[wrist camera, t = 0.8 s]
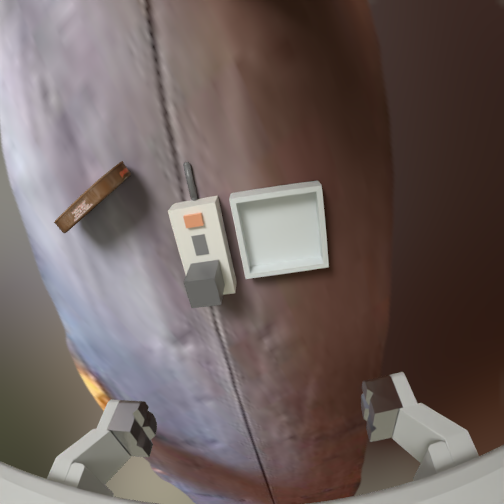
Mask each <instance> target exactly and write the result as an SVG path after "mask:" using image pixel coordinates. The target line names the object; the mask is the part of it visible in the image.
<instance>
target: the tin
mask: <svg viewBox="0 0 504 504" xmlns="http://www.w3.org/2000/svg"><path fill="white" fill-rule="evenodd" d="M130 175H131V173H130V172H129V170H128V169H127V168H126V166H125V165H124V163H123V161H122V162H120V163H119V164H118V165H116V166H115V167H113V168H112V169H111V170H110V171H108V172H107V173H106V174H105V175H104V176H102V177H101V178H100V179H99V180H98V181H97V182H96V183H94V184H93V185H92V186H91V187H90V188H89V189H88V190H87V191H85V192H84V193H83V194H82V195H81V196H80V197H79V198H78V199H77V200H76V201H75V202H74V203H73V204H72V205H71V206H70V207H69V208H68V209H67V210H66V211H65V212H63V213H62V214H61V215H60V216H59V217H58V219H57V220H56V221H55V222H54V223H55V224H56V225H57V226H58V227H59V228H60V230H61V231H62V232H63V233H66V232H67V231H69V230H70V229H71V228H72V227H73V226H74V225H75V224H76V223H78V222H79V221H80V220H81V219H82V218H83V217H84V216H85V215H87V214H88V213H89V212H90V211H91V210H92V209H93V208H94V207H95V206H97V205H98V204H99V203H100V202H101V201H102V200H103V199H104V198H106V197H107V196H108V195H109V194H110V193H111V192H112V191H114V190H115V189H116V188H117V187H118V186H119V185H120V184H121V183H122V182H123V181H125V180H126V179H127V178H128V177H129V176H130Z"/></svg>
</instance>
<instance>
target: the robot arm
mask: <svg viewBox="0 0 504 504" xmlns="http://www.w3.org/2000/svg"><path fill="white" fill-rule="evenodd" d="M362 390H363V394H362V395H361V408H362V413H363V417H364V419H365V420H366V421H367V427H366V429H367V433H368V436H369V440H370V442H372V441H378V440H382V439H387V438H391V437H392V439H394V440H395V441H396V442H397V443H398V444H399V445H400V446H402V447H403V448H404V449H405V450H406V451H407V452H408V453H410V454H411V455H412V456H413V457H414V458H416V459H417V460H418V461H419V462H420V463H421V464H420V466H419V468H418V470H417V472H416V474H415V476H414V481H413V482H409V483H406V484H403V485H399V486H395V487H392V488H388V489H384V490H380V491H376V492H372V493H367V494H363V495H358V496H353V497H347V498H342V499H336V500H330V501H323V502H316V503H308V504H504V445H502V446H501V447H499V448H496V449H495V450H492V451H490V452H488V453H486V454H484V455H482V456H479V455H478V453H477V451H476V449H475V446H474V444H473V442H472V440H471V438H470V435H469V433H468V431H467V430H465V429H464V428H462V427H460V426H459V425H457V424H455V423H454V422H452V421H450V420H448V419H447V418H445V417H444V416H442V415H440V414H439V413H437V412H435V411H434V410H432V409H431V408H429V407H427V406H425V405H424V404H422V403H419V404H418V403H417V401H416V399H415V396H414V394H413V392H412V390H411V387H410V385H409V383H408V381H407V378H406V376H405V374H404V373H403V372H400V373H396V374H392V375H386V376H382V377H378V378H374V379H369V380H365V381H363V383H362ZM147 410H148V405H147V404H146V402H143V401H126V400H110V401H109V402H108V403H107V405H106V408H105V410H104V412H103V415H102V417H101V419H100V422H99V424H98V426H97V429H93V430H91V431H90V432H89V433H87V434H86V435H85V436H83V437H82V438H81V439H80V440H78V441H77V442H76V443H74V444H73V445H72V446H71V447H69V448H68V449H66V450H65V451H64V452H62V453H61V454H60V455H58V456H57V457H56V459H55V462H54V464H53V466H52V468H51V470H50V473H49V475H48V477H47V479H45V478H42V477H39V476H36V475H33V474H30V473H28V472H25V471H22V470H20V469H17V468H15V467H12V466H10V465H7V464H5V463H3V462H0V504H157V503H149V502H141V501H136V500H130V499H123V498H118V497H113V492H112V491H111V490H110V489H109V488H108V487H107V486H106V485H105V484H106V483H107V482H108V481H109V480H110V479H111V478H112V477H113V475H115V474H116V473H117V471H118V470H119V469H120V468H121V467H122V466H123V465H124V464H125V463H126V462H127V461H128V460H129V459H130V457H131V456H138V457H150V453H151V449H152V446H153V444H152V442H151V439H152V438H153V437H154V436H155V435H156V431H157V423H156V419H155V417H154V415H153V414H152V413H150V412H149V411H147Z"/></svg>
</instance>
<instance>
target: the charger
mask: <svg viewBox="0 0 504 504" xmlns="http://www.w3.org/2000/svg"><path fill="white" fill-rule="evenodd" d="M184 285H185V288H186V292H187V295H188V298H189V301H190V304H191V307H192V308H197V307H206V306H215V305H221V304H222V298H223V292H224V287H225V283H224V279H223V275H222V271H221V267H220V262H219V260H213V261H206V262H199V263H192V264H190V267H189V270H188V272H187V275H186V277H185V280H184Z"/></svg>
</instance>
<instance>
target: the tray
mask: <svg viewBox="0 0 504 504" xmlns="http://www.w3.org/2000/svg"><path fill="white" fill-rule="evenodd" d="M229 200H230V205H231V210H232V215H233V220H234V225H235V230H236V235H237V239H238V244H239V249H240V254H241V259H242V264H243V269H244V273H245V278H246V279H250V278H257V277H265V276H272V275H279V274H286V273H293V272H300V271H307V270H313V269H320V268H327V267H329V263H328V249H327V236H326V225H325V214H324V203H323V193H322V185H321V184H320V182H319V181H310V182H303V183H295V184H288V185H281V186H274V187H268V188H261V189H255V190H248V191H242V192H236V193H231V195H230V198H229Z"/></svg>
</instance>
